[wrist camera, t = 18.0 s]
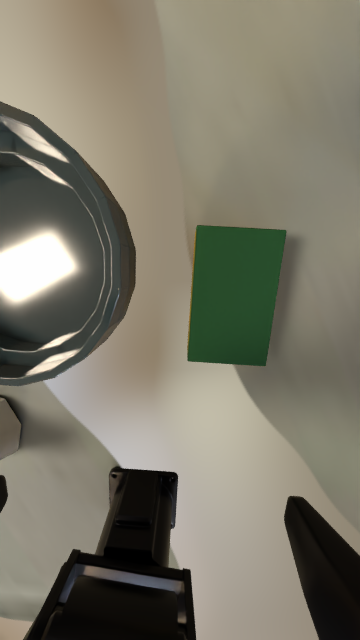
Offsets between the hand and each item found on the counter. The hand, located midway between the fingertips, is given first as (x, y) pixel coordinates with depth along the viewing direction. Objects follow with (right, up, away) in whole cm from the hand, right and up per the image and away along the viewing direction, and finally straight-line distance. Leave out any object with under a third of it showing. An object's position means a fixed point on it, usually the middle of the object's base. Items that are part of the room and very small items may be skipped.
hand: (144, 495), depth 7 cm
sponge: (+5, +7, +10) cm, 14 cm away
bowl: (-10, +10, +10) cm, 18 cm away
